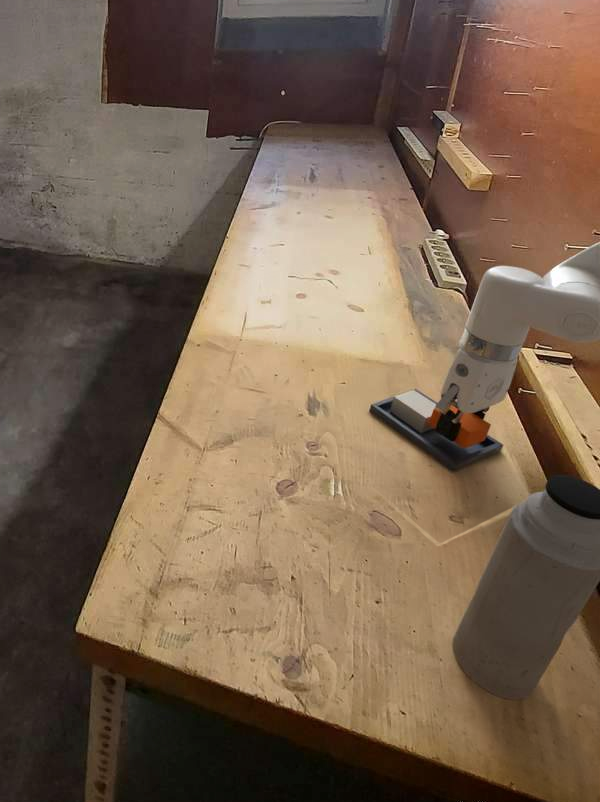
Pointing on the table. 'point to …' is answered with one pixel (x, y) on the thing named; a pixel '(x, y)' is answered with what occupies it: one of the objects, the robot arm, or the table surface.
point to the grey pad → (413, 410)
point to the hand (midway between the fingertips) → (456, 430)
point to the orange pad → (466, 428)
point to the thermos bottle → (532, 588)
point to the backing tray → (437, 439)
